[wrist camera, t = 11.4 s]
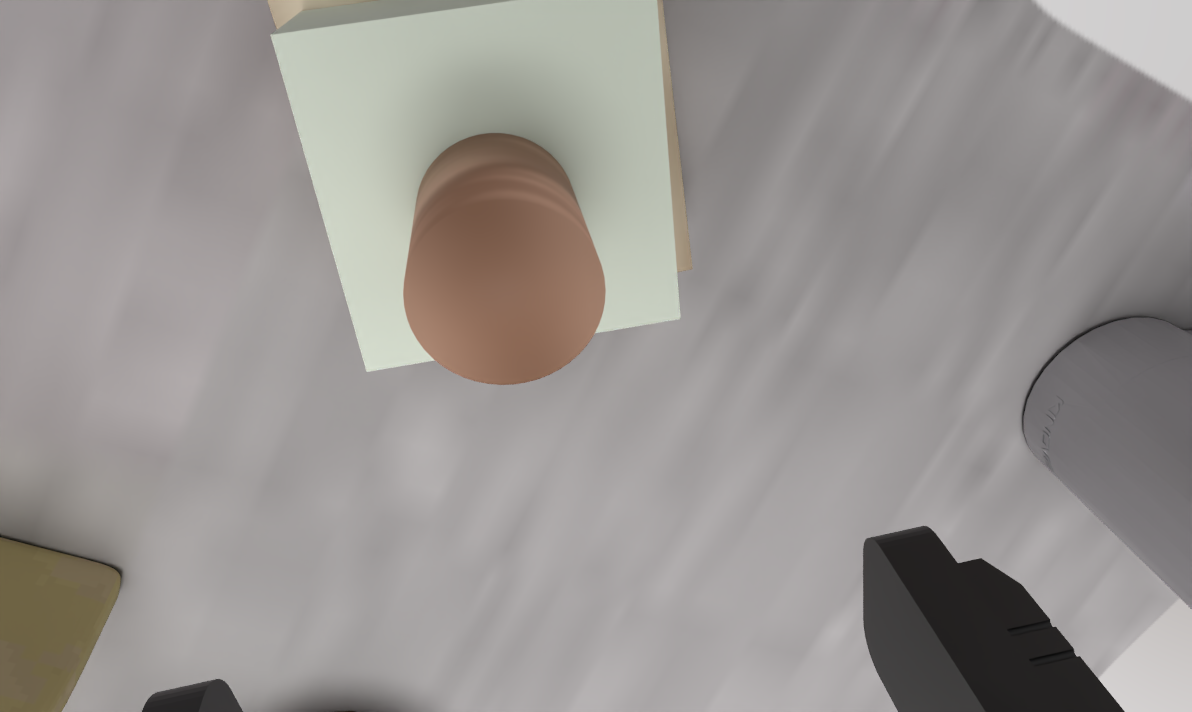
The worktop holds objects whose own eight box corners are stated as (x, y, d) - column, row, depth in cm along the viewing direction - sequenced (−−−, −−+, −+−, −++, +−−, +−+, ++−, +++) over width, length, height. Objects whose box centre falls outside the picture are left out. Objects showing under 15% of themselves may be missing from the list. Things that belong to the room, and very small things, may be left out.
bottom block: (624, -90, 31) (652, -86, 26) (664, 224, 36) (692, 269, 32) (290, -27, 30) (262, -14, 26) (386, 281, 36) (375, 334, 32)
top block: (623, -34, 27) (655, -20, 22) (649, 260, 32) (680, 319, 27) (301, 11, 26) (270, 34, 22) (379, 304, 31) (366, 371, 27)
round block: (561, 118, 24) (589, 181, 19) (587, 269, 26) (618, 363, 21) (397, 150, 24) (378, 222, 18) (438, 298, 26) (431, 401, 21)
